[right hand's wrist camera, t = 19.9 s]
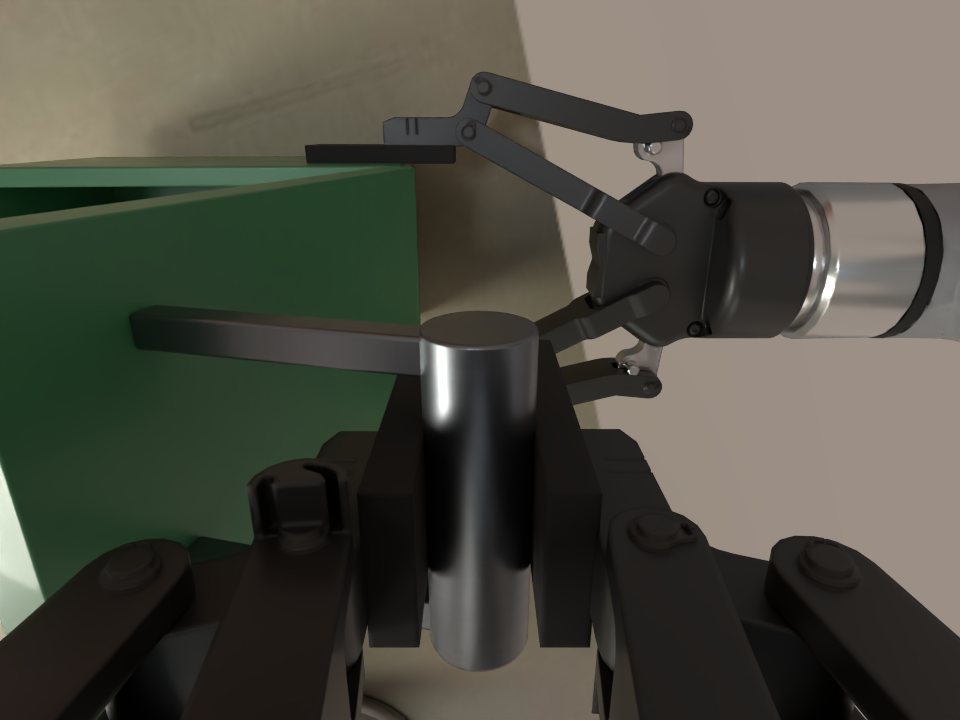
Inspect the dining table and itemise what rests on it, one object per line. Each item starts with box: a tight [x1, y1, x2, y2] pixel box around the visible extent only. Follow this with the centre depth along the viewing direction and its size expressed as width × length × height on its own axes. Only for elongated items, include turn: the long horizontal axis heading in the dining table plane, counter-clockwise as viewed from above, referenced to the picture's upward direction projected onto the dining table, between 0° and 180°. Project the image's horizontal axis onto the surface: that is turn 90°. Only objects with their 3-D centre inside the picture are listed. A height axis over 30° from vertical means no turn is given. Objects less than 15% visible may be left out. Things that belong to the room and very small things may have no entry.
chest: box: [0, 157, 411, 218], centre depth 30 cm, size 17×9×10 cm, turn 90°
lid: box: [0, 167, 539, 720], centre depth 17 cm, size 18×9×8 cm
